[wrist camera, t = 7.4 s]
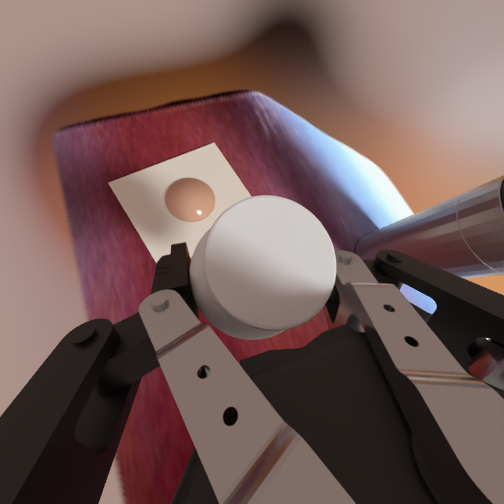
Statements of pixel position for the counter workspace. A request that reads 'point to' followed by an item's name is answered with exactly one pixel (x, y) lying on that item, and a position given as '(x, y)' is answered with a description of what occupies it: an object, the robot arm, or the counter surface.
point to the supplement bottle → (262, 268)
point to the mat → (154, 192)
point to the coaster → (190, 199)
